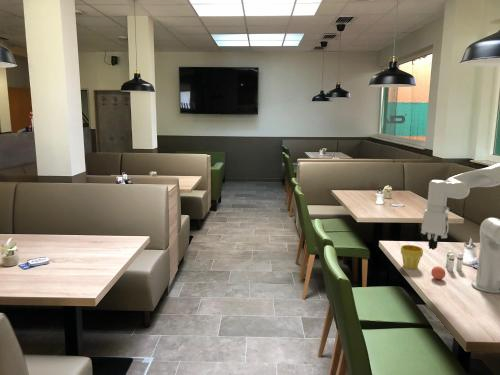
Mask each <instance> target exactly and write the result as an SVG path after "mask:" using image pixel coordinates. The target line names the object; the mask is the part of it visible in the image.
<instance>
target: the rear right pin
mask: <svg viewBox="0 0 500 375" xmlns="http://www.w3.org/2000/svg"><path fill="white" fill-rule="evenodd" d="M463 259H464V253H461V252H458V253H457V258H456V269H455V270H456V272H457V271H458V272H462V269H463V263H464V260H463Z"/></svg>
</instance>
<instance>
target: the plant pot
mask: <svg viewBox="0 0 500 375" xmlns="http://www.w3.org/2000/svg"><path fill="white" fill-rule="evenodd" d="M400 254H401V256H402V265H403V267H405V268H406V269H412V270H414V269H418V267H419V263H420V262H421V261H420V260H421V258H422V257H423V255H424V249H423V248H422V247H421V246H418V245H414V244H412V245H411V244H405V245H404V244H403V245H402V246H401V247H400Z"/></svg>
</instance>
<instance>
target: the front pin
mask: <svg viewBox="0 0 500 375" xmlns="http://www.w3.org/2000/svg"><path fill="white" fill-rule="evenodd" d="M455 256H456V254H455V253H453V254H449V262H448V268H447V272H454V266H455Z"/></svg>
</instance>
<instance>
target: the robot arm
mask: <svg viewBox="0 0 500 375" xmlns="http://www.w3.org/2000/svg"><path fill="white" fill-rule="evenodd" d="M497 186H500V162H499V163H496V164H494V165H490V166H488V167H484V168H479V169H474V170H470V171H465V172H463V173H460V174H459V173H458V174H457V175H453V176H451V177H448V178H447V179H446V180H443V179H432V180H430V181H429V183H428V192H427V194H428V195H427V202H426V209H425V210H424V213H423V217H422V223H421V231H420V234H423V235H425V236H426V238H427V240H428V249H429V250H433V251H434V250H436V248H438V243H439V242H438V241H439V240H440V239H447V238H448V233H449V213H448V212H447V211H450V207H447V206H448V205H447V201H448V198H450V199H456V200H461V199H465V198H467V197H468V196H469V194H470V191H471V190H470V189H472V188H493V187H497ZM479 237H480V238H479V253H478V260H477V269H476V277H475V279H474V280H472V281H471V286H472V287H473V288H475V289H476V290H479V291H481V292H485V293H490V294H500V218H498V217H488V218H485V219H484V220H483V221H482V222H481V224H480V228H479Z"/></svg>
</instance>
